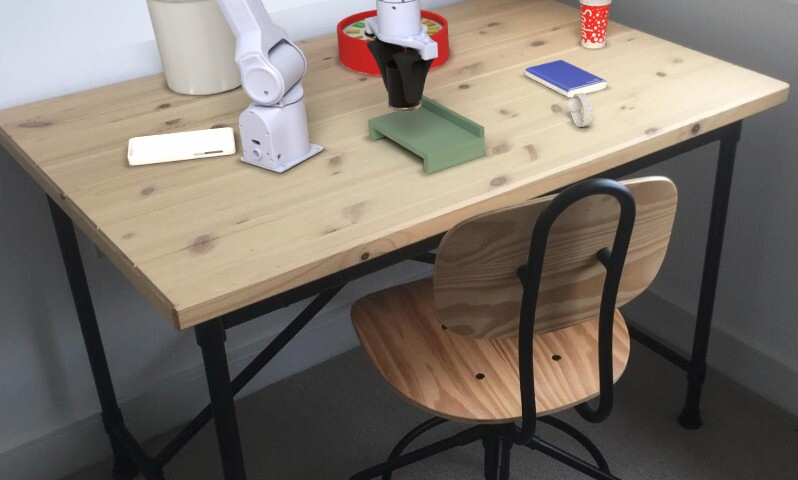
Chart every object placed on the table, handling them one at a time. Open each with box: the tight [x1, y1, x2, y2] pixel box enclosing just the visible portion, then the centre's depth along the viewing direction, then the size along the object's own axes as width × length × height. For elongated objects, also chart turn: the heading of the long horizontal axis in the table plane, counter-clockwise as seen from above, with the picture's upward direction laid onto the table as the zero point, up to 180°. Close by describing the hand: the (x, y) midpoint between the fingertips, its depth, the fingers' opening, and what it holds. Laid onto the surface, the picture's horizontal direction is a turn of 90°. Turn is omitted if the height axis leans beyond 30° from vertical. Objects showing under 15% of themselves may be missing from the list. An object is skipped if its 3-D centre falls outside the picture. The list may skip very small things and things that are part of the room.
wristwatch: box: [566, 93, 593, 128], centre depth 149 cm, size 3×5×5 cm, turn 21°
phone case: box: [127, 126, 237, 166], centre depth 143 cm, size 7×1×15 cm
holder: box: [386, 59, 421, 112], centre depth 132 cm, size 5×5×6 cm
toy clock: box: [336, 9, 450, 77], centre depth 175 cm, size 20×6×20 cm
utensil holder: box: [145, 0, 242, 96], centre depth 161 cm, size 15×15×18 cm
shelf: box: [367, 94, 486, 175], centre depth 143 cm, size 10×16×4 cm, turn 38°
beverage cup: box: [578, 0, 613, 50], centre depth 178 cm, size 6×6×14 cm
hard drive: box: [524, 59, 607, 99], centre depth 166 cm, size 2×8×12 cm
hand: (404, 96), depth 133 cm, fingers closed on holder, 4 cm apart
